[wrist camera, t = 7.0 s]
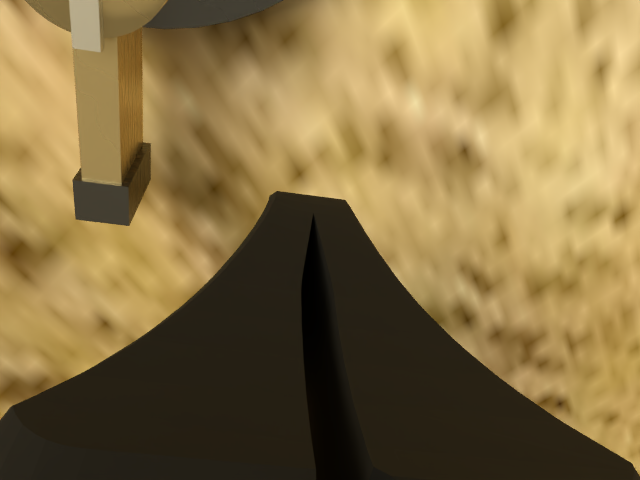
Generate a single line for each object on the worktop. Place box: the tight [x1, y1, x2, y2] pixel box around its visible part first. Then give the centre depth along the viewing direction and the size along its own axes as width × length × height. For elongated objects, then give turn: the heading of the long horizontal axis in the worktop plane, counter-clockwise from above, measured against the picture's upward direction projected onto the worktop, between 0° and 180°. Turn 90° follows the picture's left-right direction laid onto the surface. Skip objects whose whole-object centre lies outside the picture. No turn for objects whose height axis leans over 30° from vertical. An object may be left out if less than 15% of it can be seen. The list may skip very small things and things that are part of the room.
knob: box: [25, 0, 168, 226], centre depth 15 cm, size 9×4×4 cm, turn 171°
